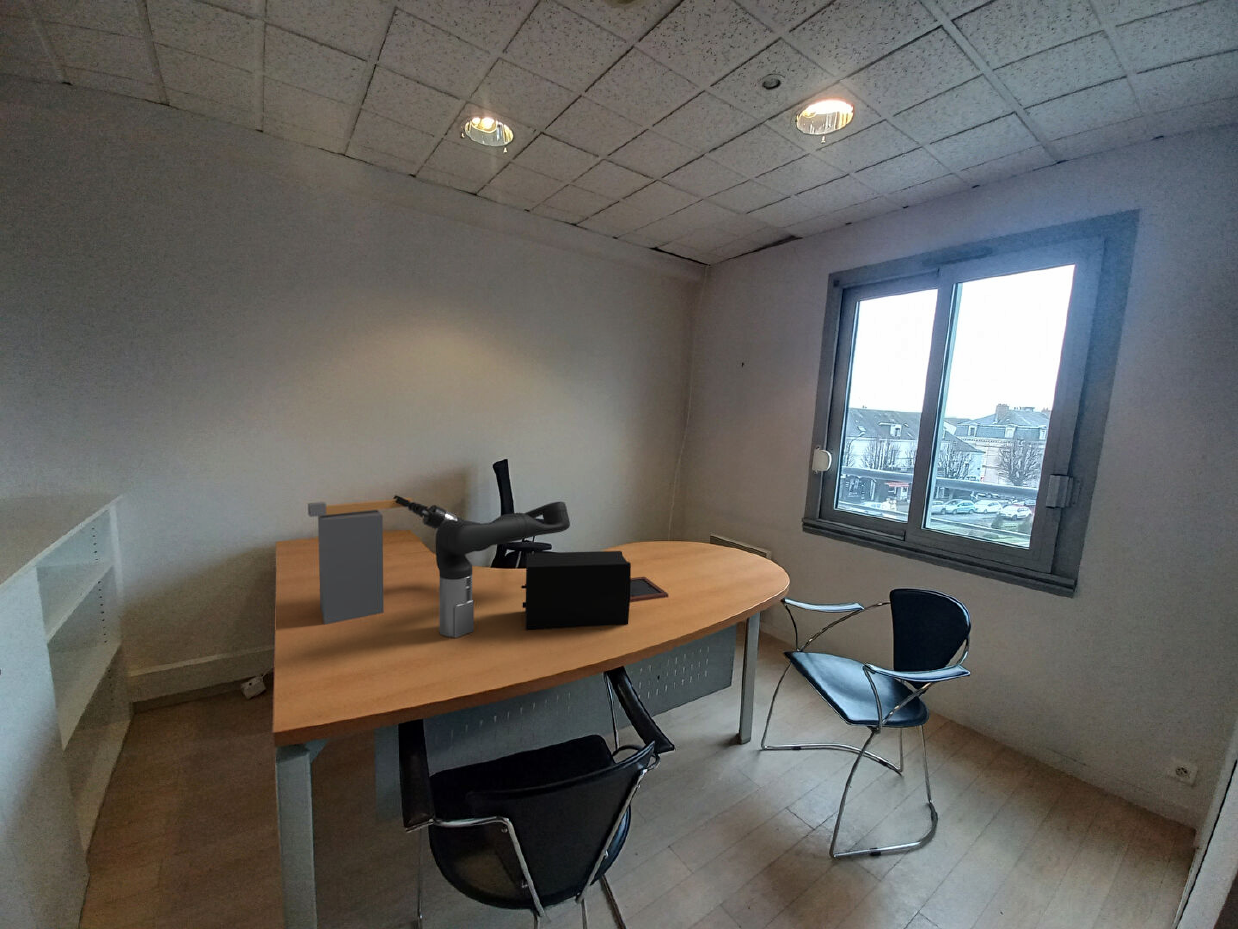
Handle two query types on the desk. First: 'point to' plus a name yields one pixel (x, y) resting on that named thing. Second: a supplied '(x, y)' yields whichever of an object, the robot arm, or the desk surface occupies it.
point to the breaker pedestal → (350, 565)
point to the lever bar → (351, 507)
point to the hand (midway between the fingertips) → (395, 498)
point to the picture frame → (645, 590)
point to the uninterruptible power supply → (576, 589)
